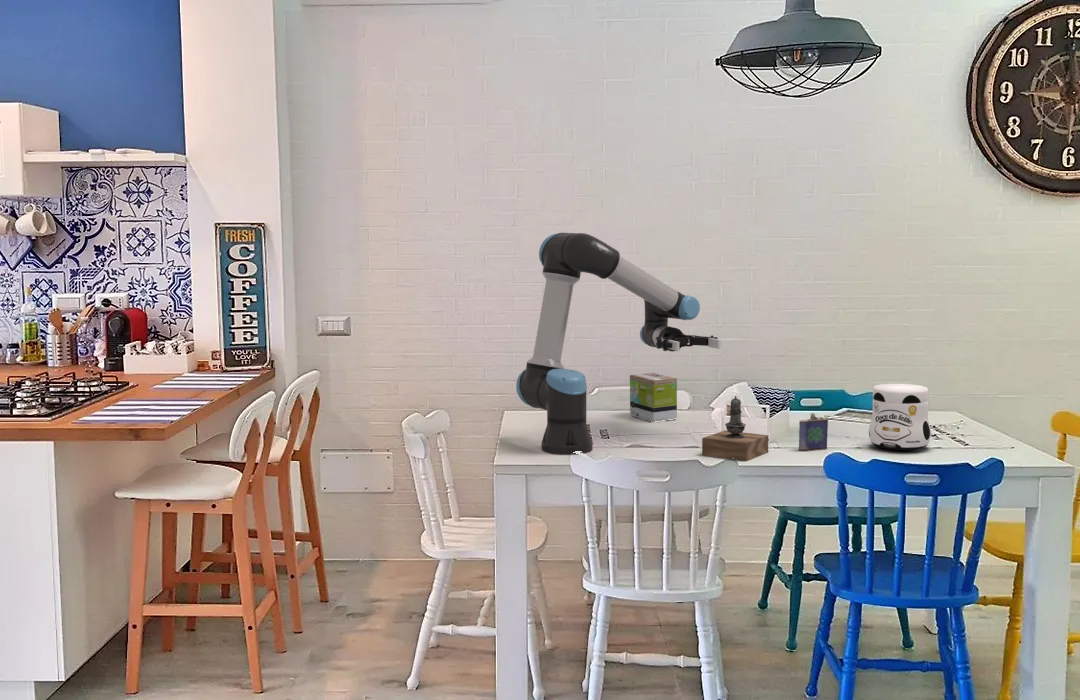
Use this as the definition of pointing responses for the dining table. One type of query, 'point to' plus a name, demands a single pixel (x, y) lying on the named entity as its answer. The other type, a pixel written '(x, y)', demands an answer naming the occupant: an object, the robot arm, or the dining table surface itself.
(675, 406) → the tea box
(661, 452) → the dining table surface
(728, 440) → the base block
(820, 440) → the flask
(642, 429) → the dining table surface
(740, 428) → the salt shaker
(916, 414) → the milk container
